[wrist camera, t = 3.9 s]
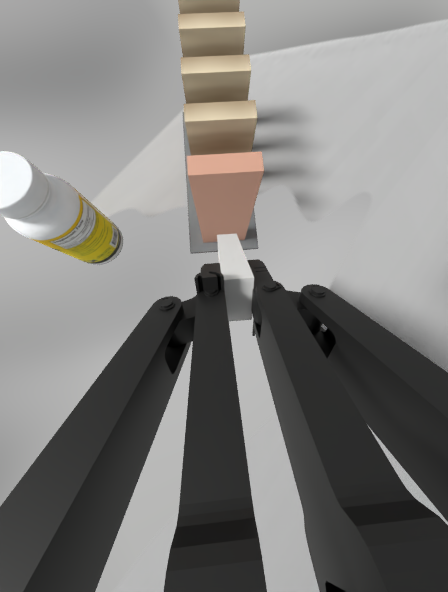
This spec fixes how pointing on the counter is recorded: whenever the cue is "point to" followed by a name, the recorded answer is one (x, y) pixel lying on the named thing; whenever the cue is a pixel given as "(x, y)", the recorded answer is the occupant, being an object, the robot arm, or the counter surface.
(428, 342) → the counter surface
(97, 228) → the pill bottle
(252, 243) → the mat
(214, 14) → the domino
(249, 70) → the domino
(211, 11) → the domino
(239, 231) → the domino
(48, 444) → the robot arm
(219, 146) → the domino
